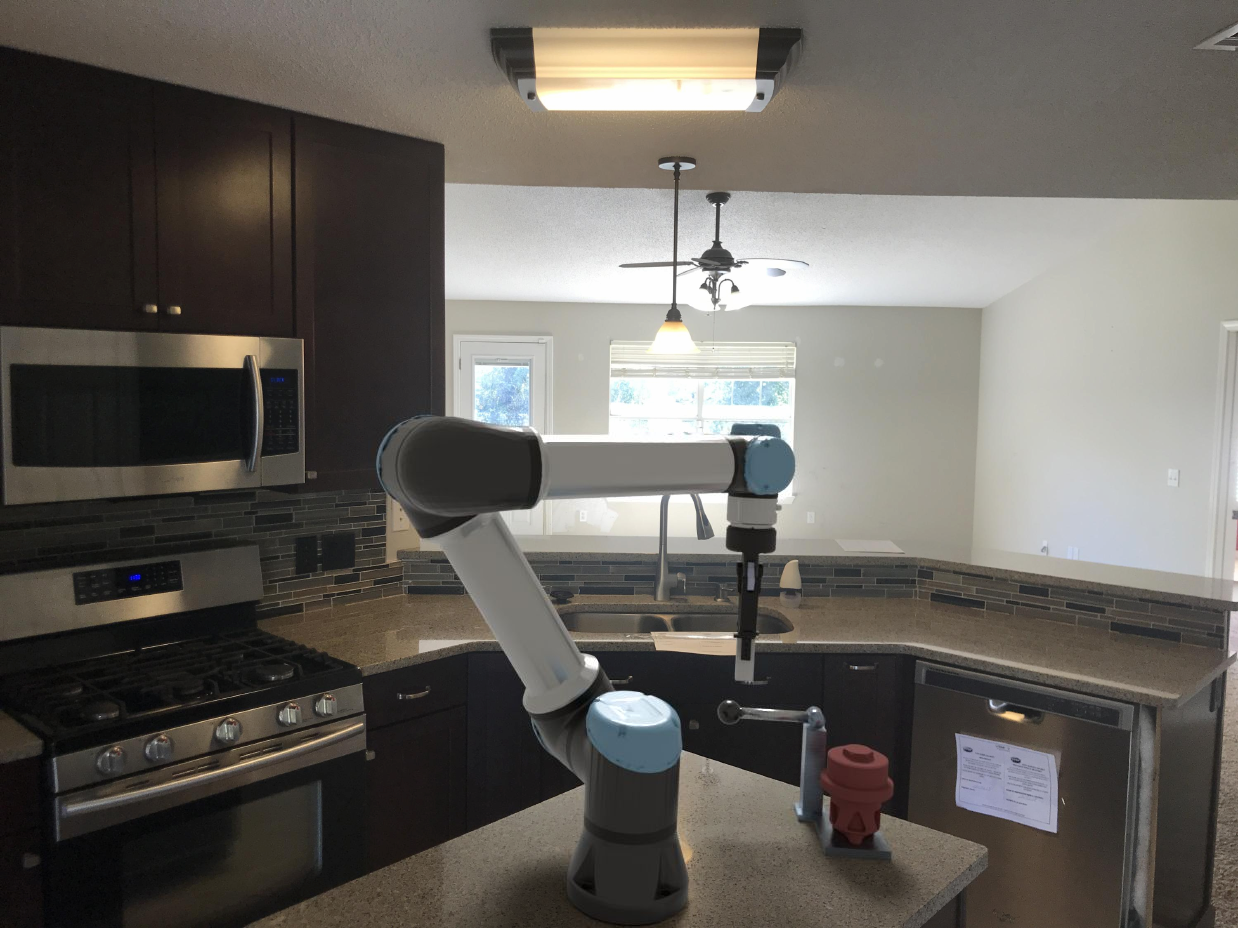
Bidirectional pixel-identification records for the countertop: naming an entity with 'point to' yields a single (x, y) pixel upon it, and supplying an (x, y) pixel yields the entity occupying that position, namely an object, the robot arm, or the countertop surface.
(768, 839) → the countertop surface
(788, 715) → the lever
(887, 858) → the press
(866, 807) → the mechanical component
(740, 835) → the countertop surface
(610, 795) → the robot arm
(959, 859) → the countertop surface
